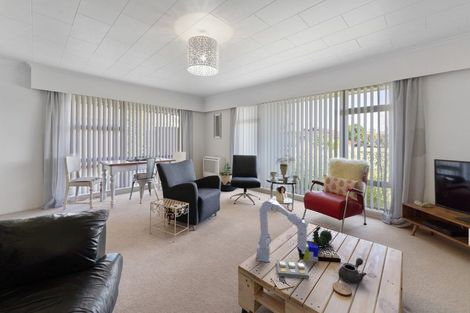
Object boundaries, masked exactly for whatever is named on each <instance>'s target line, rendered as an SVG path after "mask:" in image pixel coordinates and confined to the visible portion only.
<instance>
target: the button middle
mask: <svg viewBox="0 0 470 313" xmlns="http://www.w3.org/2000/svg"><path fill="white" fill-rule="evenodd" d="M293 262H294V261H291V262H289V268H295V264H294V263H293Z"/></svg>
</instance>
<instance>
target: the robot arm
mask: <svg viewBox="0 0 470 313" xmlns="http://www.w3.org/2000/svg"><path fill="white" fill-rule="evenodd" d="M270 210H272V211H278V212H280V213H281V214H283V215H284V216H285V217H286V218H287V220H288V221H289V222H290V223H292V224H293V225H294V226H296V229H297V237H296V238H297V243H296V249H297V251H298V257H299V260H303V258H304V255H305V253H306V251H307V250H306V248H307V247H308V245H306V241H308V240H307V237H308V235H307V234H308V232H307V231H308V230H307V227H308V225H309V224H308V222H307V220H306V219H303V218H302V217H299V216H298V215H297V213H295V212H290V211H289V210H288V209H287V208H285V207H284V206H283V205H282V204H280V203H279V202H278V201H277V200H275V198H273V197H271V198H270V197H269V198H268V199H267V200H265V201H264V202H262V204H261V206H260V208H259V222H260V234H259V238H258V239H259V240H258V245H257V246H256V261H258V262H267V263H270V262H271V254H270V253H271V252H270V251H271V246H270V244H271V243H272V238H271V236H270V233H269V223H268V222H269V221H268V220H269V219H268V211H270Z"/></svg>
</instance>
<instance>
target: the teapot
mask: <svg viewBox="0 0 470 313" xmlns="http://www.w3.org/2000/svg"><path fill="white" fill-rule="evenodd" d="M363 263H364V260H363V258H361V257H357V258H356V260H355V264H353V263H349V262H344V263H342V265H341V267H339V269H338V273H337V274H338V276H339V277H340V278H341V279H342V281H346V282H348V283H351V284H358V283H360V282H362V281H363V279H364V278H365V276H367V273H366V271H365V272H359V270H358V268H359V267H360V266H362V265H364V264H363Z"/></svg>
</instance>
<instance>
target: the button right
mask: <svg viewBox="0 0 470 313" xmlns="http://www.w3.org/2000/svg"><path fill="white" fill-rule="evenodd" d="M303 263H304V262H302V263H298V268H299V269H304V264H303Z"/></svg>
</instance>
